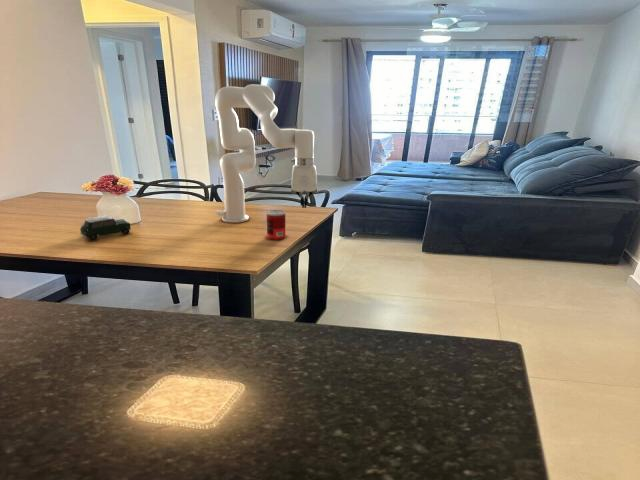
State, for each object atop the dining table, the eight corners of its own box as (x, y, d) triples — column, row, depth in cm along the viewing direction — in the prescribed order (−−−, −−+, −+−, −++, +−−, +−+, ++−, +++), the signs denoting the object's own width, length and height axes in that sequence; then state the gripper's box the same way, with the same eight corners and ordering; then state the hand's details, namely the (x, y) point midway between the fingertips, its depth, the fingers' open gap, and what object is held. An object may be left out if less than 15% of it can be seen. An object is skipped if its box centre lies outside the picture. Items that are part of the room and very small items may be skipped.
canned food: (288, 235, 163) (288, 210, 160) (280, 241, 156) (280, 215, 153) (272, 233, 166) (271, 208, 162) (263, 238, 159) (263, 213, 155)
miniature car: (133, 233, 161) (131, 215, 158) (85, 242, 149) (82, 222, 146) (126, 228, 167) (123, 210, 164) (79, 237, 155) (75, 218, 152)
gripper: (284, 163, 147) (285, 209, 153) (323, 163, 148) (322, 209, 153) (285, 160, 154) (286, 205, 160) (322, 161, 155) (322, 205, 161)
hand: (304, 207), depth 157 cm, fingers closed
